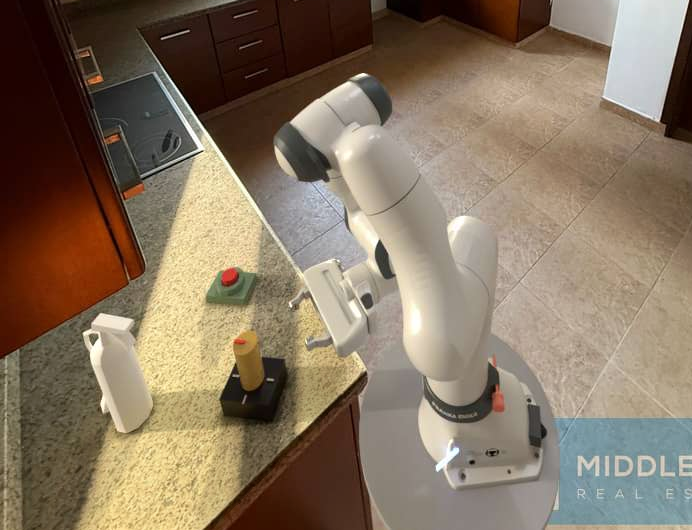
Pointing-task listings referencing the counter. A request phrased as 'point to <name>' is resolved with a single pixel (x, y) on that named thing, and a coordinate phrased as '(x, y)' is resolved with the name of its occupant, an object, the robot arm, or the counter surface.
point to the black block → (255, 393)
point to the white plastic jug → (119, 372)
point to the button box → (232, 289)
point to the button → (229, 277)
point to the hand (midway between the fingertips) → (297, 325)
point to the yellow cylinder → (248, 360)
